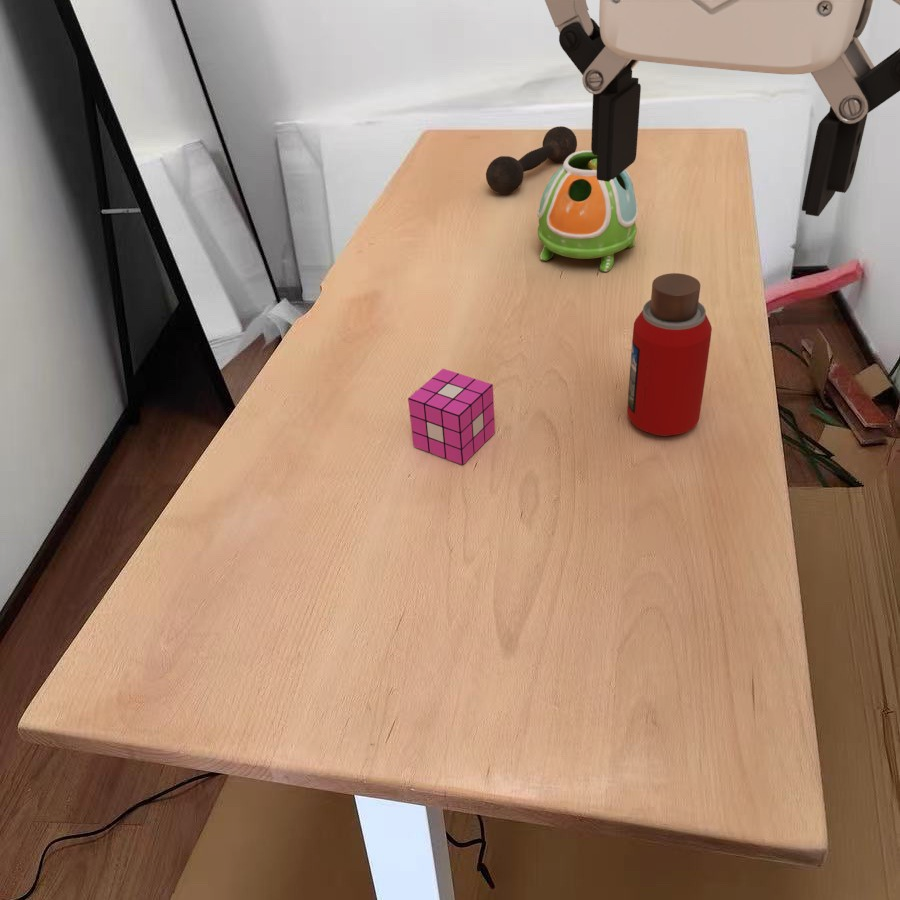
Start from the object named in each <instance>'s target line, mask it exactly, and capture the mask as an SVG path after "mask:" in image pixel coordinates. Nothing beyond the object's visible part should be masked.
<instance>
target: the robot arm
mask: <svg viewBox="0 0 900 900" xmlns="http://www.w3.org/2000/svg"><path fill="white" fill-rule="evenodd" d="M544 2H545V5H546V7H547V9H548V12H549V15H550V17H551V20H552V22H553V25H554V27H555V28H557V30H558V32H559V35H558V42H559V45H560V47H561V49H562V50H563V52H564V53H565V55H566V56H567V57H568V58H569V60H570V61H571V62H572V63H573V65H574V66H575V67H576V69H577V70H578V71H579V72H580V74H581V76H582V78H581V79H582V85H583V88H584V89H585V90H586V91H587V92H588V93H589V94H592V110H591V111H592V114H591V143H590V148H591V149H590V150H592V153H593V155H597V174H596V175H597V179H598V180H601V181H607V182H609V181H610V180H611V179H614V178H615V177H617V176H618V175H619V174H620V173H621V172H623V171H624V170H625V169H626V170H627V169H628V168H629V167H630V166H631V165H632V164H633V163H635V161H636V159H637V152H638V151H637V150H638V137H639V121H640V108H641V92H642V86H641V84H640V83H639V77H633V69H634V68H635V67H636V66H637V65H638V63H639V62H647V63H654V64H655V63H656V64H666V65H674V66H683V67H684V66H685V67H686V66H687V67H697V68H705V69H717V70H727V71H729V70H730V71H739V72H748V73H749V72H750V73H760V74H776V75H804V74H805V75H806V74H811V76H812V77H813V79H814V80H815V82H816V84H817V86H818V87H819V89H820V91H821V92H822V94H823V97H825V99H826V101H827V102H828V104H829V111H828V113H826V115H825V116H824V117H823V118H822V119H821V121H819V123H818V126H817V129H816V133H815V138H814V139H815V140H814V144H813V149H812V153H811V159H810V163H809V169H808V173H807V174H808V175H807V179H806V184H805V189H804V194H803V199H802V204H801V211H803V212H805V215H806V216H813V217H820V215H821V213H822V212H823V211H824V210H825V208H826V207H827V206H828V204H829V202H830V201H831V200H832V198H833V197H834V195H835V193H843V194H846V193H847V191H848V190H849V188H850V186H851V184H852V182H853V178H854V175H855V171H856V168H857V167H856V166H857V163H858V158H859V154H860V149H861V145H862V140H863V136H864V131H865V128H866V122H867V119H868V115H869V113H870V112H872V111H873V110H875V109H877V108H878V107H879V106H880V105H882V104H883V103H885V102H886V101H888V100H889V99H890V98H892V97H893V96H895V95H896V94H898V93H899V92H900V47H899V48H898V49H896V50H895V51H894V52H893V53H891V54H890V55H889V56H887V57H886V58H884V59H883V60H882V61H880V62H879V63H878V64H876V65H874V64H873V62H872V60H871V59H870V57H869V55H868V53H867V51H866V50H865V48H864V46H863V45H862V43H861V41H860V40H859V37H860V36H861V35H862V33H863V32H864V30H865V28H866V25H867V23H868V21H869V17H870V14H871V11H872V7H873V2H874V0H599V14H598V15H599V17H598V18H599V22H598V23H597V22H596V20H594V19H593V18H592V17H591V16H590V14H589V11H590V9H589V7H588V4H587V0H544ZM892 2H894V3H896V4H897V5H899V6H900V0H892ZM598 24H599V25H598Z"/></svg>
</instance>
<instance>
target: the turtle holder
mask: <svg viewBox="0 0 900 900" xmlns="http://www.w3.org/2000/svg"><path fill="white" fill-rule="evenodd" d="M596 174H597V155H593V153H592V150H591V149H585V150H584V149H583V150H578V151H575V152H574V153H572V154H571V155H569V156H568V157H567V158H566V160H565V161H564V162H563V164H562V165H561V166H560V167H559V168H558V169H557V170H556V172H554V174H553V175H552V176H551V177H550V179H548V182H547V184H546V185H545V187H544V190H543V192H542V195H541V199H540V202H539V208H538V210H537V213H536V215H537V218H538V227H537V235H538V239H539V241H540V242H541V243H542V245H543V247H542V250H541V252H540V254H539V258H540V260H541V261H543V262H544V261H545V262H546V261H549V260H550V259H553V256H554V254H556V255H559V256H562V257H565V258H573V259H581V260H587V259H597V258H598V259H599V258H601V261H600V264H599V271H600V272H602V273H607V272H609V271H610V270H612V269H613V267H614V262H615V254H616V253H618V252H621V251H623V250H625V249H626V248H628V249H629V248H630V249H631V248H633V247H634V246H635V245H636V241H635V237H636V235H637V232H638V231H637V229H638V227H637V224H636V222H637V218H638V213H639V208H638V201H637V198H636V193H635V186H634V181H633V178H632V176H631V174H630V173H629V171H628V170H627V168H626V169H625V170H624V171H623V172H621V173H620V174H619V175H618V176H617V177H615V178H614V179H611V180H610V181H609V182H607V181H601V180H598V179H597V175H596Z"/></svg>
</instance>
